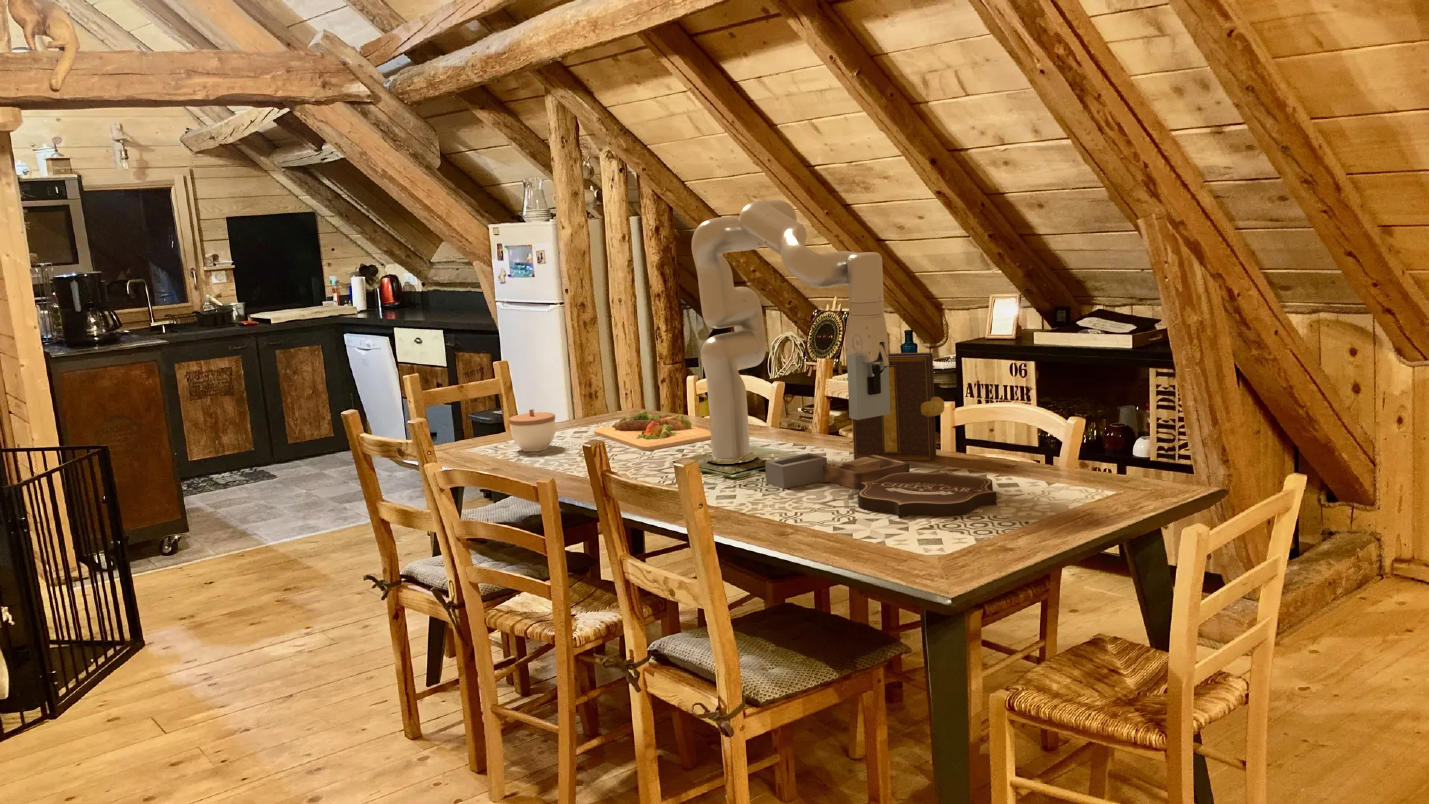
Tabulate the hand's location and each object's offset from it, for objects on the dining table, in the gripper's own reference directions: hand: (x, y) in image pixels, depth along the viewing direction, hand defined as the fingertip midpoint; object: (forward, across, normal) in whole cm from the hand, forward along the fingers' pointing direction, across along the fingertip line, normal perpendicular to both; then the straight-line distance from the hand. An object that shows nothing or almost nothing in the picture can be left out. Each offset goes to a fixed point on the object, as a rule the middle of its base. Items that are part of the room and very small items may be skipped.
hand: (869, 392), depth 255 cm
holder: (+20, -12, -12) cm, 27 cm away
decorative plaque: (+21, +20, -2) cm, 29 cm away
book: (+21, -14, +19) cm, 31 cm away
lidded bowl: (+22, -97, -42) cm, 108 cm away
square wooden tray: (+20, -2, 0) cm, 20 cm away
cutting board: (+22, -87, -10) cm, 90 cm away
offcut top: (+19, -4, 0) cm, 19 cm away
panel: (+5, 0, 0) cm, 5 cm away
